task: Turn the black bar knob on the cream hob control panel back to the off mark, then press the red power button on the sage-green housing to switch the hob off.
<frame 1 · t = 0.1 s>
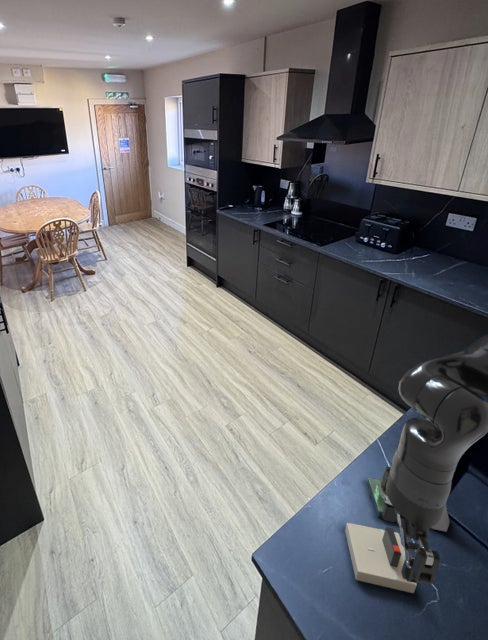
hand: (398, 546, 56), 21 cm above the worktop, tool pointing down, fingers open, 8 cm apart
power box: (389, 502, 82), on the worktop
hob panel: (376, 559, 71), on the worktop
flask: (430, 515, 79), on the worktop
power button: (392, 490, 80), point 5 cm above the worktop, slide at 0.2 cm
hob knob: (391, 546, 69), point 5 cm above the worktop, hinge at 90.0°
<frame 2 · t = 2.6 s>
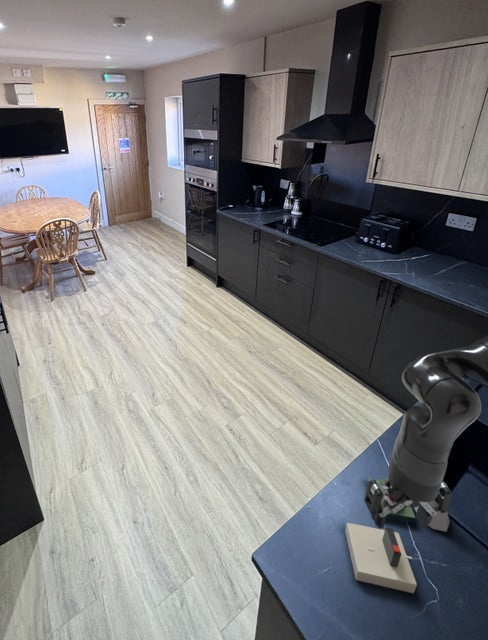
hand: (399, 522, 62), 18 cm above the worktop, tool pointing down, fingers open, 8 cm apart
nothing on the worktop moved.
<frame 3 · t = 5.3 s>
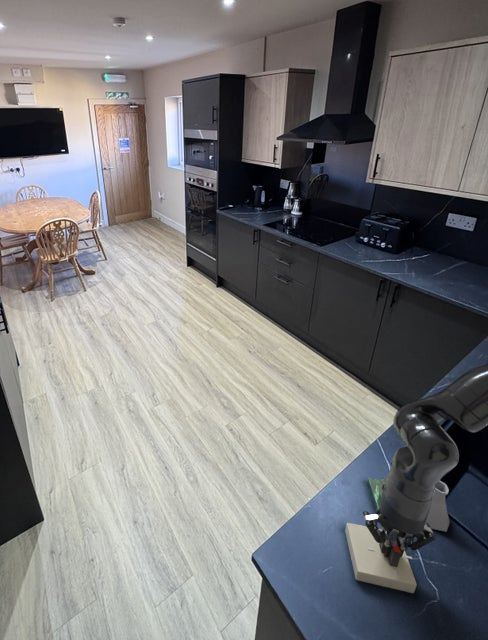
hand: (389, 552, 69), 3 cm above the worktop, tool pointing down, fingers closed
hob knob: (391, 546, 69), point 5 cm above the worktop, hinge at 90.0°, touching gripper
everything else where it was.
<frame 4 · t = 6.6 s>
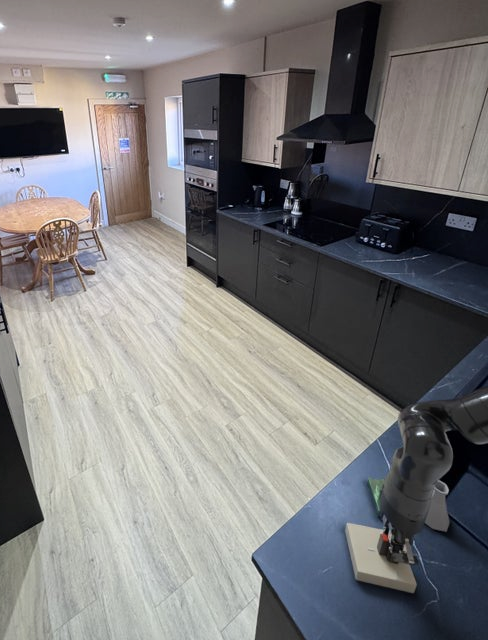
hand: (389, 552, 70), 3 cm above the worktop, tool pointing down, fingers closed
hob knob: (391, 546, 69), point 5 cm above the worktop, hinge at -0.3°
everything else where it was.
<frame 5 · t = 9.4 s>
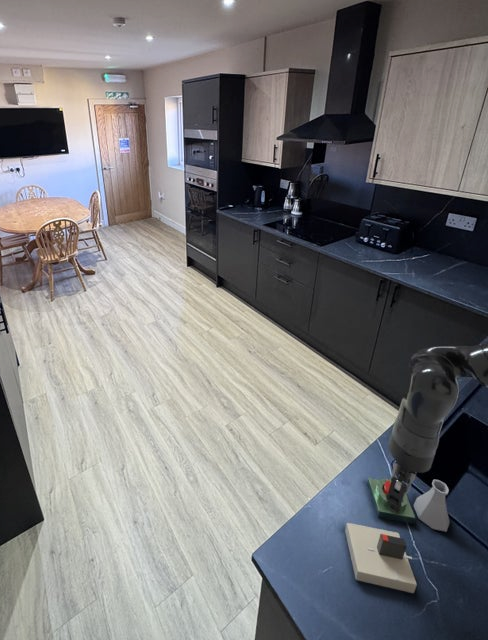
hand: (398, 493, 71), 13 cm above the worktop, tool pointing down, fingers open, 8 cm apart
nothing on the worktop moved.
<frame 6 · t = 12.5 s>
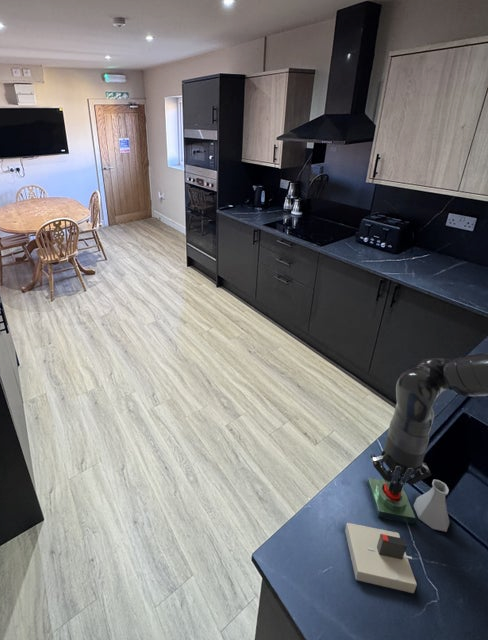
hand: (392, 490, 80), 5 cm above the worktop, tool pointing down, fingers closed
power button: (392, 491, 80), point 4 cm above the worktop, slide at -0.4 cm, touching gripper
everything else where it was.
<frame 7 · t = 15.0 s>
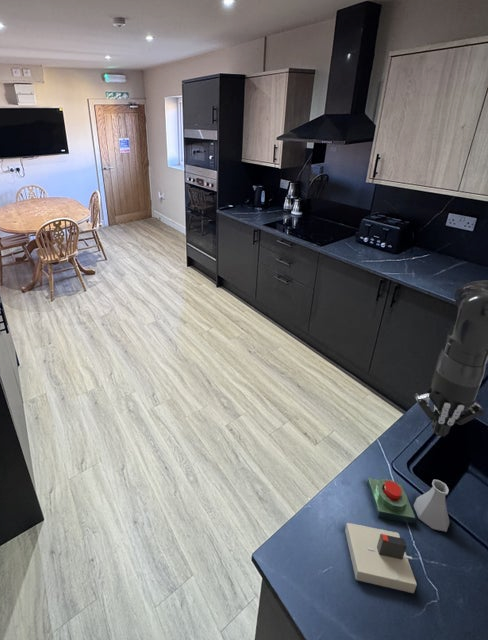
hand: (438, 432, 74), 24 cm above the worktop, tool pointing down, fingers closed
power button: (392, 490, 80), point 5 cm above the worktop, slide at 0.1 cm
everything else where it was.
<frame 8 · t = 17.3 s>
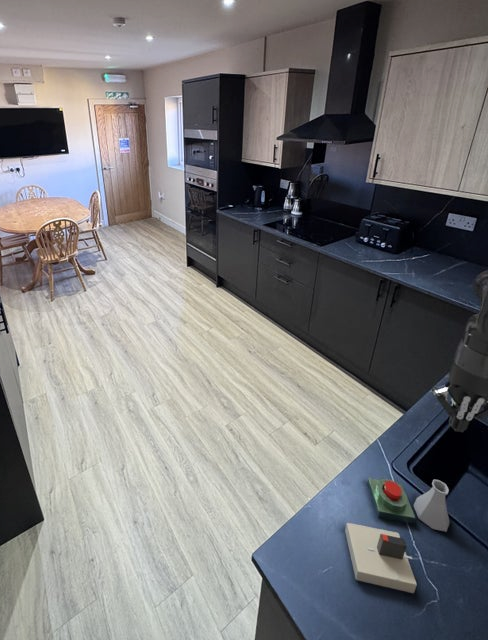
hand: (456, 428, 71), 27 cm above the worktop, tool pointing down, fingers closed
nothing on the worktop moved.
at the end: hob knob at +0° (first picture: +90°); power button pushed in 1.1 cm at the most during the clip, back to where it started at the end; power button slide at 0.1 cm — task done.
